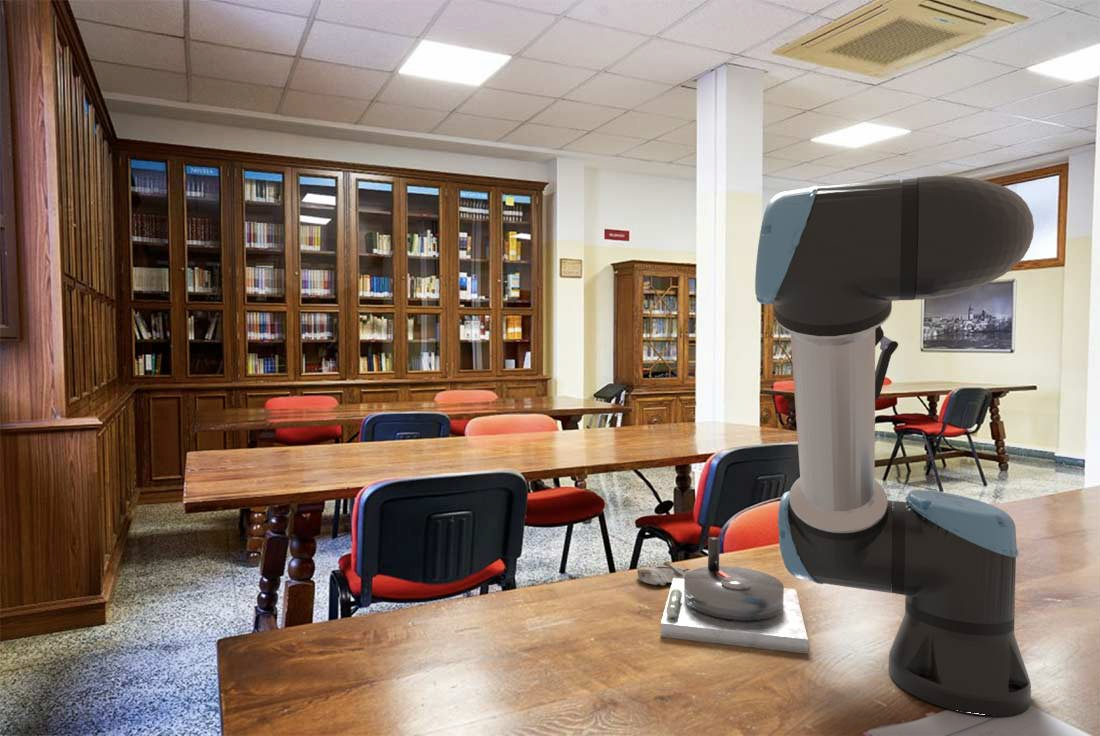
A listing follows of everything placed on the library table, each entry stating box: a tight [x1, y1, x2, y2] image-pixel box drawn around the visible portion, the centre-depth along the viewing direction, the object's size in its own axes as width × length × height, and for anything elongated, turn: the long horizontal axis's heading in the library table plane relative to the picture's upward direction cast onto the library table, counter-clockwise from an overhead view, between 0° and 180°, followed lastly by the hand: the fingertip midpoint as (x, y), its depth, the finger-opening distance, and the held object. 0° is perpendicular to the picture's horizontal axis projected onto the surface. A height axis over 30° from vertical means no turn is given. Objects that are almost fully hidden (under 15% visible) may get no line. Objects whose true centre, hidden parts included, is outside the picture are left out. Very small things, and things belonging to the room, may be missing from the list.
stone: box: [637, 561, 691, 587], centre depth 122 cm, size 10×7×3 cm
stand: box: [660, 578, 809, 655], centre depth 105 cm, size 20×20×4 cm
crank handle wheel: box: [684, 536, 785, 620], centre depth 106 cm, size 15×15×8 cm
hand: (853, 441), depth 113 cm, fingers closed
